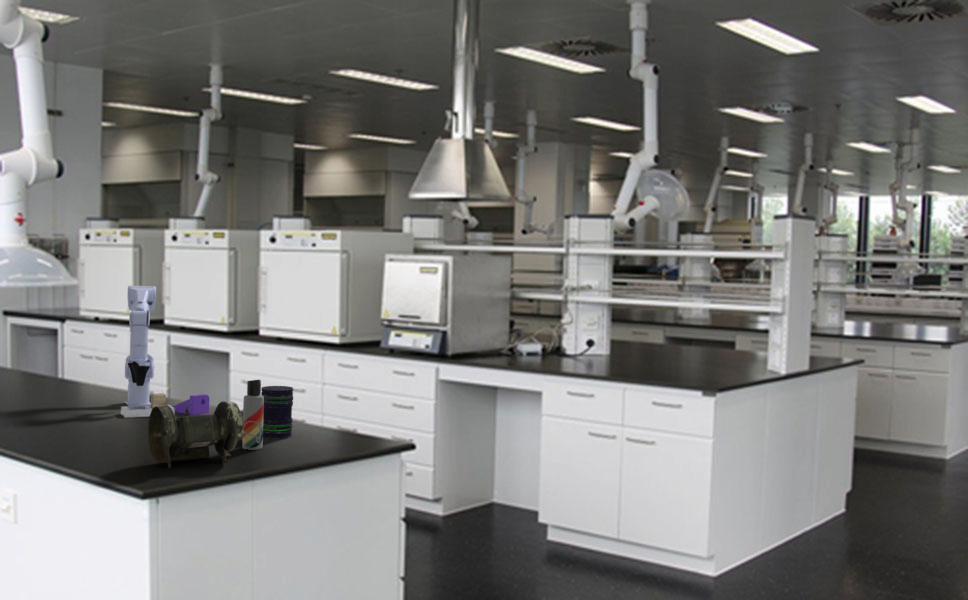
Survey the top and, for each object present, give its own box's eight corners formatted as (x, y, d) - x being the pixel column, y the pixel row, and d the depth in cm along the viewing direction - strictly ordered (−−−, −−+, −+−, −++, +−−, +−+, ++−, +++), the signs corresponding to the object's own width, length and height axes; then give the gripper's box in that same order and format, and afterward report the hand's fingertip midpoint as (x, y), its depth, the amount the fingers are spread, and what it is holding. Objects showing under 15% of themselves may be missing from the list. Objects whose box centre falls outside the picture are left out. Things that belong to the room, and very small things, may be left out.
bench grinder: (250, 455, 247) (242, 382, 254) (164, 458, 234) (159, 382, 241) (223, 475, 262) (216, 406, 269) (141, 479, 249) (136, 406, 256)
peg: (150, 413, 324) (151, 393, 323) (162, 413, 326) (163, 393, 325) (153, 415, 320) (153, 395, 320) (165, 415, 322) (166, 394, 322)
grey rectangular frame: (120, 413, 321) (121, 406, 321) (169, 411, 329) (169, 404, 329) (124, 417, 314) (125, 410, 314) (174, 415, 322) (174, 408, 322)
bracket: (208, 413, 330) (209, 394, 330) (193, 415, 324) (193, 396, 324) (185, 409, 336) (186, 390, 336) (170, 411, 331) (170, 392, 330)
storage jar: (281, 431, 299) (282, 385, 299) (298, 436, 292) (299, 388, 292) (253, 435, 292) (254, 387, 292) (270, 440, 285) (271, 391, 285)
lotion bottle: (252, 450, 269) (254, 381, 268) (237, 448, 272) (239, 379, 271) (266, 448, 274) (268, 379, 273) (252, 445, 277) (254, 377, 276)
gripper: (123, 343, 331) (122, 381, 331) (130, 347, 318) (129, 387, 319) (144, 343, 334) (143, 381, 335) (152, 347, 322) (151, 386, 322)
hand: (138, 384), depth 327 cm, fingers open, 7 cm apart
